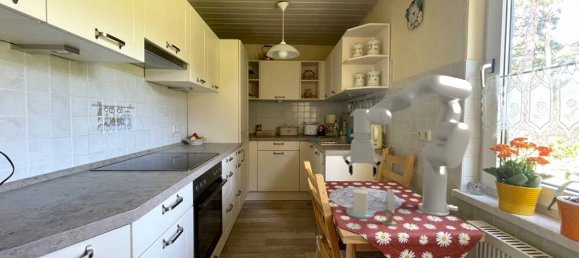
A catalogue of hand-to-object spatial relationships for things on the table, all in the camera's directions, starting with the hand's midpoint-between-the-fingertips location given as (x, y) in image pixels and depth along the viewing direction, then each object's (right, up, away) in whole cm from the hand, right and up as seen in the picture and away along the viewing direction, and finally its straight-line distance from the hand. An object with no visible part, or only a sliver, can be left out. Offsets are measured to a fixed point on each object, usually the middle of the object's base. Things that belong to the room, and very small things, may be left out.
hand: (362, 175), depth 117 cm
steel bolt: (+6, -7, -18) cm, 20 cm away
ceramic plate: (-1, -17, +1) cm, 17 cm away
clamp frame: (+10, -18, -3) cm, 21 cm away
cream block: (-1, -16, +1) cm, 16 cm away
